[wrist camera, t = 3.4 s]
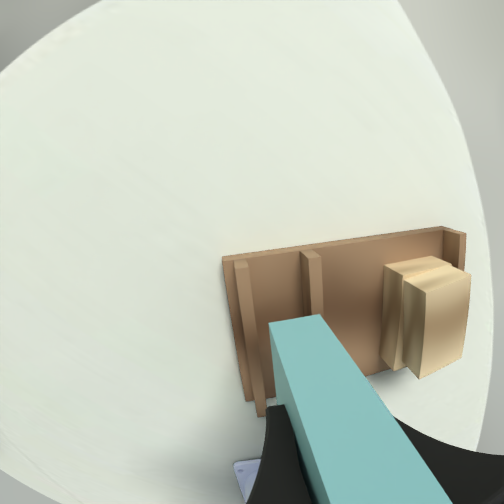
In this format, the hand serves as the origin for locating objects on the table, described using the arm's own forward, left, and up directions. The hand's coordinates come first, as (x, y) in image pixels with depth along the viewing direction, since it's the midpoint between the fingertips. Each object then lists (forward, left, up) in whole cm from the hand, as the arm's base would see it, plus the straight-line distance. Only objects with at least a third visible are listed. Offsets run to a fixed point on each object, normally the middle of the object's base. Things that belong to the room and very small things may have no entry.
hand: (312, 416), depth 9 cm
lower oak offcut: (0, -8, -6) cm, 10 cm away
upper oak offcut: (0, -8, -4) cm, 9 cm away
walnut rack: (0, -5, -8) cm, 9 cm away
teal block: (0, 0, -2) cm, 2 cm away
